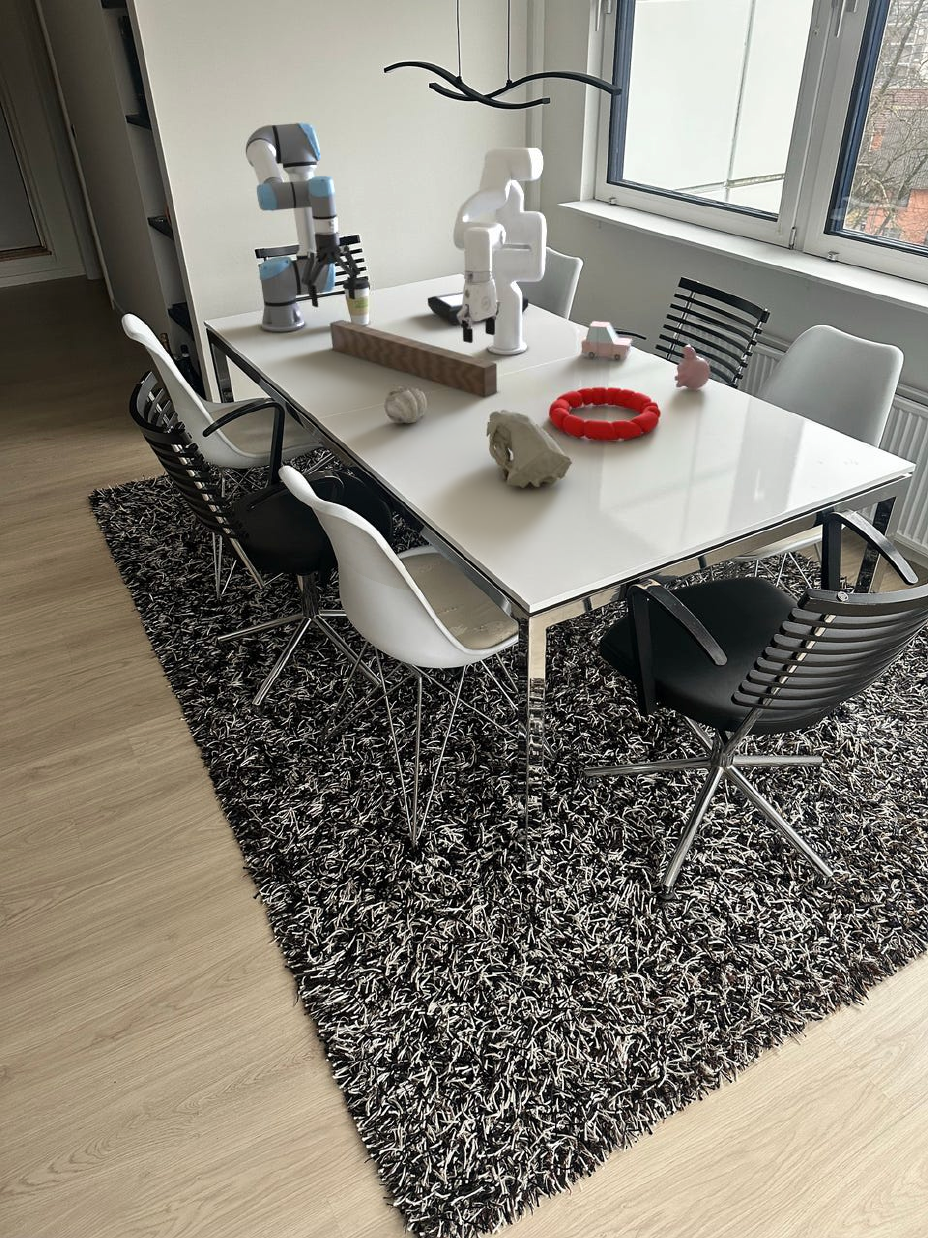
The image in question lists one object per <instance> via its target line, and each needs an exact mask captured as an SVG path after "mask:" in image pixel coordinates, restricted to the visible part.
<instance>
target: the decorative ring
mask: <svg viewBox="0 0 928 1238" xmlns="http://www.w3.org/2000/svg"><path fill="white" fill-rule="evenodd" d="M583 405H584V406H586V407H587V406H591V405H593V406H604V405H608V406H614V407H619V408H624V409H628V410H632V411H635V412H636V413H638V414H639V415H637V416H635V417H632V418H631V419H630V420H625V419H624V420H623V419H622V420H614V421H611V422H609V421H607V420H606V421H605V420H593V419H587V420H586V421H585V419H584V418H582V417H579V416H577V415H573V414H571V413H570V410H571V409H579V408H581V407H582V406H583ZM548 416H549V419H550V422H551V423H552V425H553V426H554V427H555V428H556V429H558V430H559V431H561V432H563V433H567V434H568V435H569V436H573V437H576V438H580V439H582V438H583V437H585V438H586V439H587V440H591V441H601V442H602V441H603V442H608V441H609V442H610V441H611V442H612V441H615V442H616V441H618V440H630V439H634V438H638V437H641V436H642V434H647V433H650V432H651V431H653V430H654V429H655V428H656V427H657V426H658V424H659V422H660V421H659V420H660V417H661V410H660V408H659V405H658V403H657V402H656V401H652V399H651V397H649V396H648V395H646V394H644V393H642V392H635V391H634V390H632V389H628V388H624V389H622V388H620V387H613V386H612V387H611V386H610V387H608V388H606V387H604V386H594V387H585V388H584V387H583V388H580V389H578V390H571V391H568V392H565V393H563V394H561V395H560V396H558V397H557V398H556V400H554V401H552V403H551V404H550V407H549V409H548Z"/></svg>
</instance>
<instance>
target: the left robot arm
mask: <svg viewBox="0 0 928 1238" xmlns="http://www.w3.org/2000/svg"><path fill="white" fill-rule="evenodd" d="M245 156H246V159H247V162H248V163H249V165H250V166H251V167H252V168H253V170H254V172H255V175H256V178H257V181H258V185H257V186H256V196H257V202H258V206H259V209H260V210H261V211H270V212H273V211H274V212H275V211H281V210H290V209H293V215H294V221H295V228H296V235H297V242H298V251H297V253H296V254H295V257H296V259H295V260H292V258H291V257H290V256H288V255H287V256H285V255H284V256H277V257H271V258H268V259H266V260H264V261H263V262H261V263H260V265H259V266H258V270H259V280H260V285H261V286H260V287H261V292H262V299H263V313H262V319H261V326H262V330H264V331H265V332H271V333H286V332H293V331H296V330H297V331H298V330H300V329H302V328H304V326H305V319H304V317H303V314H302V312H301V310H300V307H299V306H298V305H299V304H298V303H297V296H306V295H308V296H309V297H310V298H311V305H312V307H314V308H319V301H318V299H319V298H318V294H323V293H329V292H332V291H333V290H334V288H335V286H336V285H335V284H336V265H335V264H336V263H337V265H338V266H339V267H340V268H341V269H342V270H343V271H344V272H345V273H346V274H347V275H348V276H347V277H346V280H347V282H348V292H349V298H351V299H355V291H354V288H356V279H355V278H358V276H359V275H361V270H360V268H359V267H358V265H357V263H356V261H355V259H354V258H353V255H352V254H351V251H350V247H349V246H348V245H346V244H343V245H340V234H339V232H338V231H339V224H338V216H337V215H338V214H337V204H336V193H335V192H336V188H335V186H334V180H333V178H332V177H331V176H328V175H318V176H315V174H314V173H315V171H316V169H317V168H318V164H317V162H320V161H321V150H320V145H319V141H318V137H317V134H316V131H315V129H314V127H313V126H312V125H311V124H310V123H306V122H305V123H304V122H303V123H302V122H295V123H285V124H283V123H282V124H268V125H267V124H266V125H263V126H261V127H259V128H257V129H256V130H255V131H253V133H252V134H251V135H250V136H249V137H248V140H247V142H246V144H245ZM279 165H282V169H283V171H284V172H285V173H286V174H287V175H288V179H289V181H284V178H283V176H282V175H283V174H282V173H281V170H280V168H279ZM341 254H343V256H344V258H345V260H346V261H347V263H348V265H349V266H348V265H347V263H346V262H345V261H344V260H343V258H341Z"/></svg>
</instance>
